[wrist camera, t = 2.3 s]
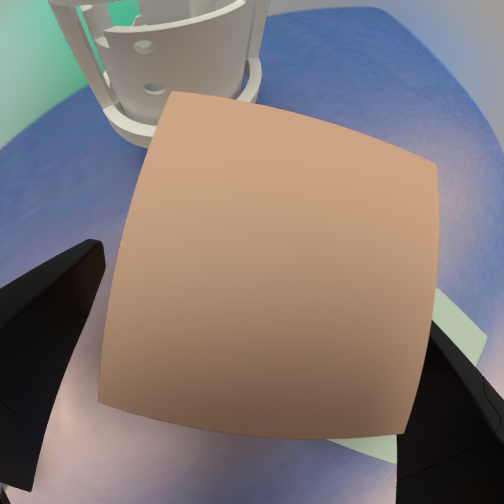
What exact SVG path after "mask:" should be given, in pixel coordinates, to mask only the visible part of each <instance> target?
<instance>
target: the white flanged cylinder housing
mask: <svg viewBox="0 0 504 504" xmlns="http://www.w3.org/2000/svg"><path fill="white" fill-rule="evenodd" d="M114 1H120V0H48V2H49V4H50V6H51V8H52V11H53V13H54V15H55V17H56V19H57V21H58V24H59V26H60V28H61V30H62V32H63V34H64V36H65V38H66V41H67V43H68V44H69V47H70V48H71V51H72V53H73V55H74V57H75V59H76V61H77V63H78V64H79V66H80V68H81V70H82V72H83V74H84V76H85V78H86V80H87V82H88V84H89V85H90V87H91V89H92V91H93V93H94V95H95V97H96V98H97V100H98V102H99V104H100V106H101V107H102V109H103V111H104V113H105V115H106V116H107V118H108V120H109V122H110V124H111V125H112V127H113V128H114V130H115V131H116V132H117V133H118V134H119V135H120V136H121V137H123V138H124V139H125V140H127V141H129V142H131V143H133V144H135V145H137V146H140V147H143V148H147V149H149V146H150V143H151V140H152V138H153V135H154V132H155V130H156V127H157V125H158V122H159V120H160V117H161V115H162V112H163V110H164V107H165V105H166V103H167V100H168V98H169V95H170V93H171V91H178V92H187V93H195V94H203V95H210V96H216V97H222V98H228V99H234V100H239V101H245V102H250V103H255V102H256V99H257V95H258V91H259V86H260V82H261V76H262V69H261V64H260V60H259V58H258V55H259V50H260V45H261V40H262V35H263V30H264V26H265V21H266V16H267V11H268V7H269V2H270V0H138V3H139V8H140V13H141V14H140V15H138V16H136V17H135V21H134V23H133V24H132V25H131V26H129V27H123V26H114V27H113V25H112V22H111V19H110V15H109V12H108V9H107V5H106V3H107V2H114ZM75 6H80V8H81V11H82V13H83V16H84V19H85V21H86V24H87V26H88V29H89V31H90V34H91V36H92V39H93V41H94V44H95V46H96V49H97V51H98V54H99V56H100V58H101V61H102V63H103V66H104V68H105V71H104V73H102V71H101V69H100V66H99V64H98V62H97V60H96V57H95V55H94V53H93V51H92V48H91V46H90V43H89V41H88V39H87V36H86V34H85V31H84V29H83V26H82V24H81V21H80V19H79V16H78V14H77V11H76V9H75ZM243 75H246V78H247V86H246V87H245V89H244V91H243V92H242V94H241V95H240V93H241V87H242V80H243ZM144 85H145V88H146V89H145V88H144ZM125 115H126V116H127V117H126V116H125Z"/></svg>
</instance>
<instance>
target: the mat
mask: <svg viewBox="0 0 504 504" xmlns="http://www.w3.org/2000/svg"><path fill="white" fill-rule="evenodd" d="M432 320H433V321H434V322H435V323H436V324H437V325H438V326H439V327H440V328H441V329H442V331H443V332H444V333H445V334H446V335H447V336H448V337H449V338H450V339H451V340H452V341H453V342H454V343H455V345H456V346H457V347H458V348H459V349H460V350H461V351H462V352H463V353H464V354H465V356H466V357H467V358H468V359H469V360H470V361H471V362H472V364H473V365H474V366H476V364H477V362H478V359H479V357H480V355H481V352H482V350H483V347H484V345H485V342H486V340H487V336H486V335H485V334H484V333H483V332H482V331H481V330H480V329H479V327H478V326H477V325H476V324H475V323H474V322H473V321H472V320H471V319H470V318H469V317H468V316H466V315H465V314H464V313H463V312H462V311H461V310H460V309H459V308H458V307H457V306H456V305H455V304H454V303H453V302H452V301H451V300H450V299H449V298H448V297H447V296H446V295H444V294H443V293H442V292H441V291H440V290H439V289H438V288H437V287H436V289H435V298H434V307H433V314H432ZM327 440H330V441H332V442H335V443H337V444H340V445H342V446H345V447H347V448H350V449H353V450H355V451H358V452H361V453H364V454H367V455H369V456H372V457H375V458H378V459H381V460H385V461H388V462H391V463H394V464H397V440H396V435H388V436H379V437H367V438H352V439H327Z"/></svg>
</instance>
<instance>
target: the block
mask: <svg viewBox="0 0 504 504" xmlns="http://www.w3.org/2000/svg"><path fill="white" fill-rule="evenodd" d="M438 246H439V198H438V179H437V166H436V164H435V163H433V162H430V161H428V160H426V159H424V158H422V157H420V156H417V155H415V154H413V153H410V152H408V151H406V150H403V149H401V148H399V147H396V146H394V145H391V144H389V143H386V142H384V141H381V140H378V139H376V138H373V137H370V136H368V135H365V134H362V133H359V132H356V131H353V130H350V129H348V128H344V127H341V126H338V125H335V124H332V123H329V122H325V121H322V120H319V119H315V118H312V117H308V116H305V115H301V114H297V113H293V112H289V111H285V110H281V109H277V108H273V107H268V106H264V105H259V104H255V103H250V102H245V101H239V100H234V99H228V98H222V97H216V96H210V95H203V94H195V93H187V92H178V91H171V93H170V95H169V98H168V100H167V103H166V105H165V107H164V110H163V112H162V115H161V117H160V120H159V122H158V125H157V127H156V130H155V132H154V135H153V138H152V140H151V143H150V146H149V149H148V152H147V154H146V157H145V160H144V163H143V166H142V169H141V172H140V175H139V178H138V182H137V185H136V188H135V191H134V195H133V198H132V202H131V205H130V209H129V212H128V216H127V219H126V223H125V227H124V231H123V235H122V239H121V243H120V247H119V252H118V256H117V261H116V265H115V270H114V275H113V280H112V285H111V291H110V296H109V302H108V308H107V315H106V321H105V328H104V336H103V344H102V353H101V363H100V374H99V388H98V402H99V403H102V404H105V405H108V406H111V407H114V408H117V409H120V410H123V411H127V412H130V413H134V414H137V415H141V416H144V417H148V418H152V419H156V420H160V421H164V422H168V423H173V424H177V425H182V426H187V427H192V428H197V429H203V430H209V431H215V432H222V433H229V434H237V435H245V436H255V437H267V438H282V439H352V438H367V437H379V436H388V435H396V434H404V431H405V428H406V425H407V422H408V419H409V416H410V413H411V410H412V406H413V403H414V399H415V396H416V392H417V388H418V385H419V381H420V377H421V372H422V368H423V364H424V359H425V354H426V349H427V344H428V339H429V333H430V327H431V321H432V314H433V307H434V298H435V289H436V279H437V266H438Z"/></svg>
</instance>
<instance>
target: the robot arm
mask: <svg viewBox="0 0 504 504" xmlns="http://www.w3.org/2000/svg"><path fill="white" fill-rule="evenodd" d="M105 267H106V263H105V255H104V247H103V243H102V242H101V241H98V240H94V239H87V240H85V241H83V242H81V243H79V244H78V245H76V246H74V247H72V248H70V249H68V250H66V251H64V252H62V253H61V254H59V255H57V256H55V257H53V258H52V259H50V260H48V261H46V262H44V263H43V264H41V265H39V266H37V267H36V268H34V269H32V270H30V271H29V272H27V273H25V274H24V275H22V276H20V277H19V278H17V279H15V280H14V281H12V282H10V283H9V284H7V285H5V286H4V287H2V288H1V289H0V504H10V502H9V499H8V497H7V495H6V493H5V491H4V489H3V487H2V486H3V483H4V484H6V485H9V486H12V487H15V488H18V489H22V490H25V491H28V492H31V491H32V487H33V482H34V477H35V472H36V467H37V463H38V459H39V454H40V450H41V447H42V443H43V439H44V435H45V431H46V428H47V424H48V421H49V418H50V414H51V411H52V408H53V405H54V402H55V399H56V396H57V393H58V390H59V388H60V385H61V382H62V379H63V377H64V374H65V371H66V369H67V366H68V363H69V361H70V358H71V356H72V353H73V351H74V349H75V346H76V344H77V341H78V339H79V337H80V334H81V332H82V330H83V328H84V325H85V323H86V321H87V318H88V316H89V313H90V311H91V308H92V305H93V302H94V299H95V296H96V293H97V291H98V288H99V285H100V282H101V280H102V277H103V275H104V272H105ZM396 440H397V485H396V504H504V400H503V399H502V397H501V396H500V395H499V394H498V393H497V392H496V391H495V389H494V388H493V387H492V386H491V385H490V383H489V382H488V381H487V380H486V379H485V377H484V376H482V374H481V373H480V372H479V371H478V369H477V368H476V367H475V366H474V365H473V364H472V362H471V361H470V360H469V359H468V358H467V357H466V356H465V354H464V353H463V352H462V351H461V350H460V349H459V348H458V347H457V346H456V345H455V343H454V342H453V341H452V340H451V339H450V338H449V337H448V336H447V335H446V334H445V333H444V332H443V331H442V329H441V328H440V327H439V326H438V325H437V324H436V323H435V322H434V321H433V320H432V321H431V327H430V333H429V339H428V344H427V349H426V354H425V359H424V364H423V368H422V372H421V377H420V381H419V385H418V388H417V392H416V396H415V399H414V403H413V406H412V410H411V413H410V416H409V419H408V422H407V425H406V428H405V431H404V434H396Z"/></svg>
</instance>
